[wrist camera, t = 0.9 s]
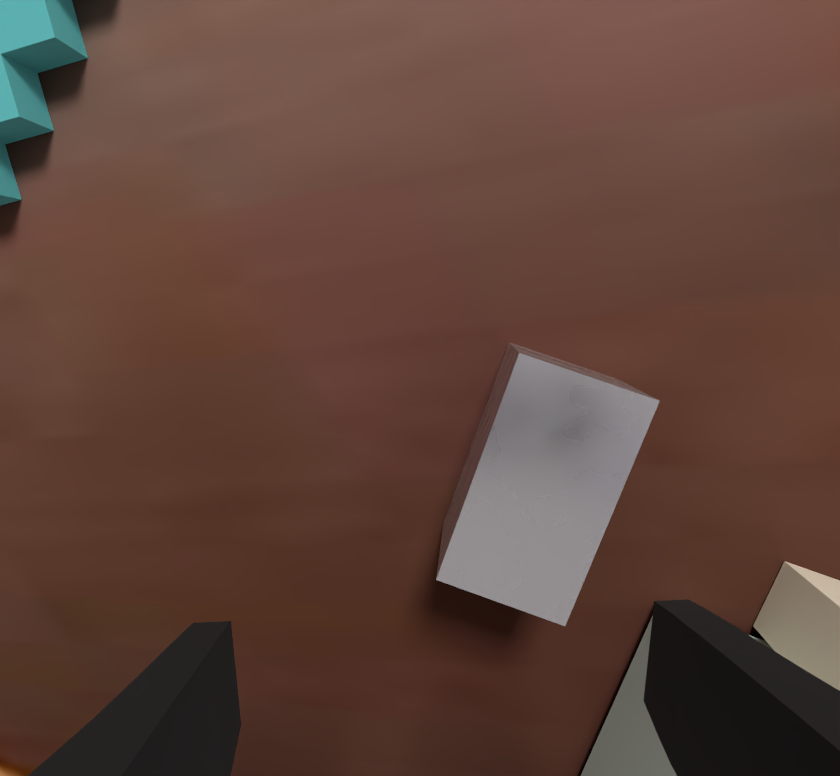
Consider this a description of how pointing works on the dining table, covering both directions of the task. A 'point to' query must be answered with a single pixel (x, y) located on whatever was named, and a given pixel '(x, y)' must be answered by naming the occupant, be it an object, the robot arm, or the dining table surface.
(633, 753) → the large mint green box
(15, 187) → the alien figure
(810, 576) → the wall shelf
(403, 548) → the dining table surface
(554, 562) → the block
